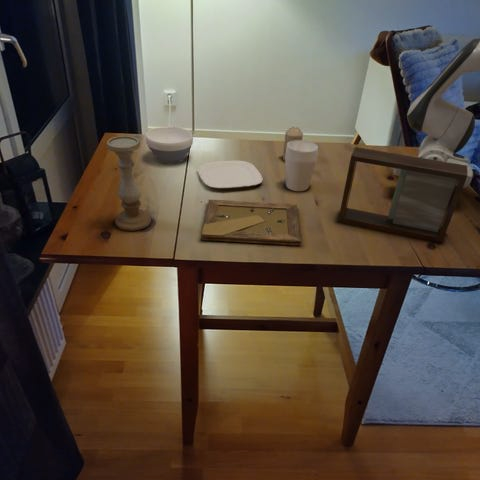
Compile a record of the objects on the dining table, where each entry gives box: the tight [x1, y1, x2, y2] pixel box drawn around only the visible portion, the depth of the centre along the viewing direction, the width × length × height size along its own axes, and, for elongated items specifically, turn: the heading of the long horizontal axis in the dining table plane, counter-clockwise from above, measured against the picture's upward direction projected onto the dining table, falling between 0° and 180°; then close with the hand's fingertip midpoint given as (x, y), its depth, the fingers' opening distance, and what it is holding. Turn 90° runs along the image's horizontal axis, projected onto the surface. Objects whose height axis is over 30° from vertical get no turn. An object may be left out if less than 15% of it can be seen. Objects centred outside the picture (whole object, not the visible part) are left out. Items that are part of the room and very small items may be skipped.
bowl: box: [145, 126, 194, 165], centre depth 145 cm, size 14×14×8 cm
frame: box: [337, 146, 468, 244], centre depth 114 cm, size 6×26×18 cm, turn 70°
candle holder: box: [105, 135, 152, 232], centre depth 109 cm, size 9×9×20 cm
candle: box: [282, 126, 304, 162], centre depth 147 cm, size 6×6×10 cm
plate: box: [196, 160, 264, 190], centre depth 137 cm, size 18×18×2 cm
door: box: [387, 169, 408, 219], centre depth 115 cm, size 4×11×14 cm, turn 70°
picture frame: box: [201, 199, 302, 246], centre depth 117 cm, size 19×2×24 cm
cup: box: [284, 139, 319, 192], centre depth 132 cm, size 9×9×12 cm
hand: (431, 182), depth 121 cm, fingers open, 8 cm apart
